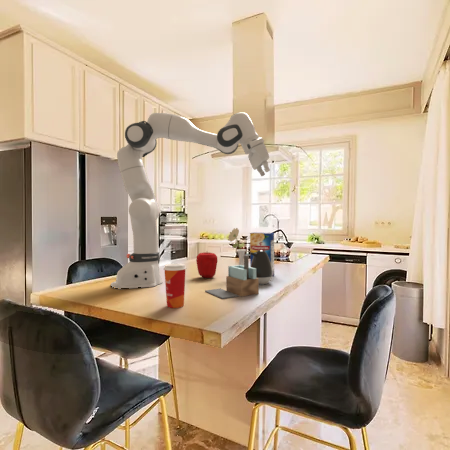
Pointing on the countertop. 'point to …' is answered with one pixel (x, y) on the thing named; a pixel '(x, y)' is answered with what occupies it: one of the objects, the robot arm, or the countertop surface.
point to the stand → (243, 283)
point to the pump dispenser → (262, 266)
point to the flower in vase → (241, 252)
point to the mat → (221, 293)
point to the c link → (241, 272)
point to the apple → (206, 264)
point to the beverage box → (262, 246)
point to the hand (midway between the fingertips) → (265, 173)
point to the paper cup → (175, 284)
